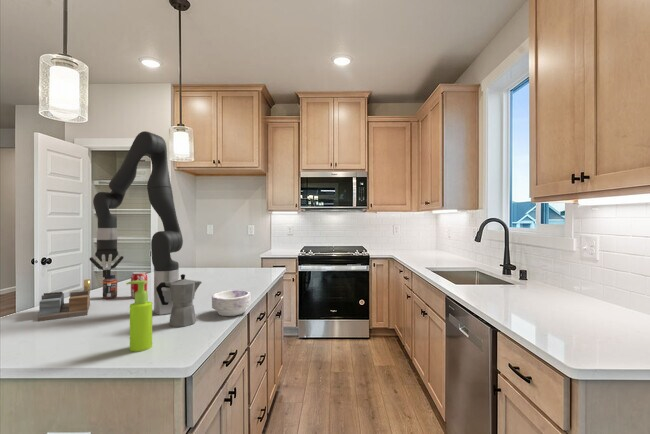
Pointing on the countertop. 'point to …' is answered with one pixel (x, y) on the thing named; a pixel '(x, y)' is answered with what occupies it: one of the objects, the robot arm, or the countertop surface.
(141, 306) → the soap dispenser
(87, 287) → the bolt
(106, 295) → the supplement bottle
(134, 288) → the soda can
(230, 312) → the white marbled bowl
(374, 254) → the countertop surface
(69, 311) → the block holder
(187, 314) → the coffeepot
